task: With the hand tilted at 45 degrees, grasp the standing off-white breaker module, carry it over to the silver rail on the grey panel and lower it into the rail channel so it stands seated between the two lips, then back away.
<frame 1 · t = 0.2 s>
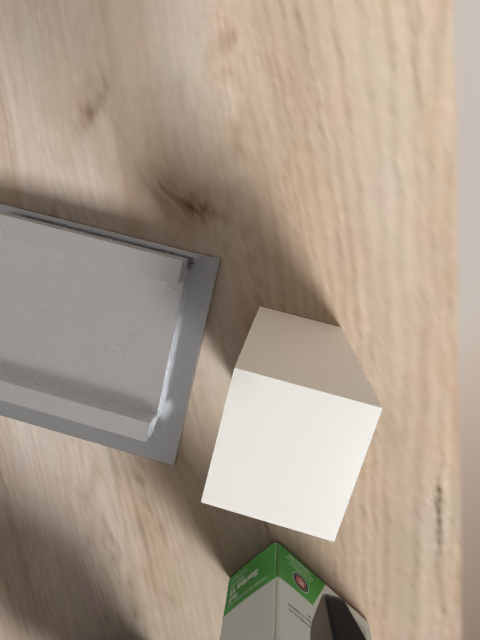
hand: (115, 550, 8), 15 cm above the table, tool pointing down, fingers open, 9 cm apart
ink box: (298, 597, 26), on the table
rail panel: (86, 321, 23), on the table
module: (288, 358, 22), on the table
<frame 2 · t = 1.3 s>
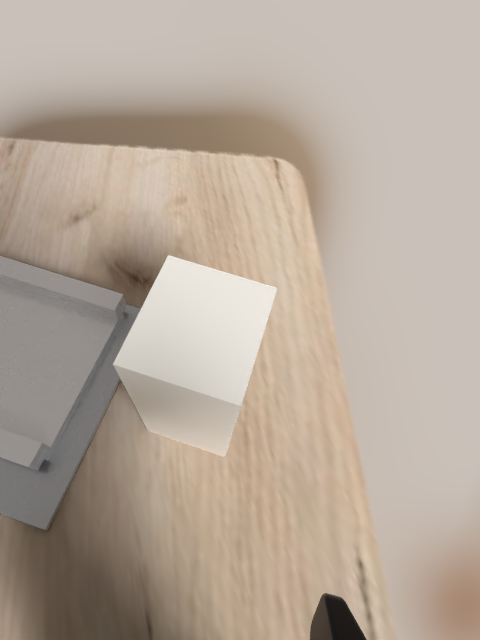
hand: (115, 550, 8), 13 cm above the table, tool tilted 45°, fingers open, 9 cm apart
rail panel: (6, 355, 23), on the table
module: (201, 402, 23), on the table
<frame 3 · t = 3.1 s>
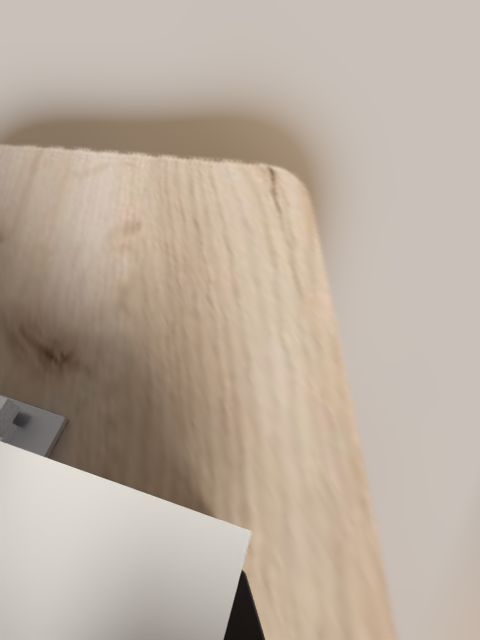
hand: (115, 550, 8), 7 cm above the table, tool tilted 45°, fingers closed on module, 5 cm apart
module: (135, 589, 13), on the table, touching gripper
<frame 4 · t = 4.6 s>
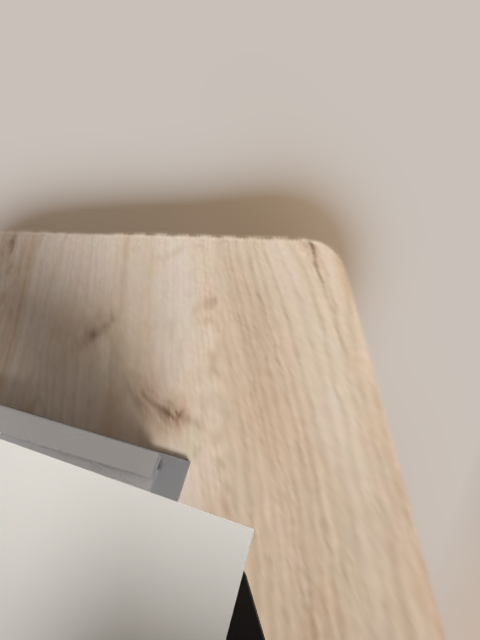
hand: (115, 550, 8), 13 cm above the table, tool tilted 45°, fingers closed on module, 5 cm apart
rail panel: (22, 533, 20), on the table
module: (137, 589, 13), point 7 cm above the table, touching gripper
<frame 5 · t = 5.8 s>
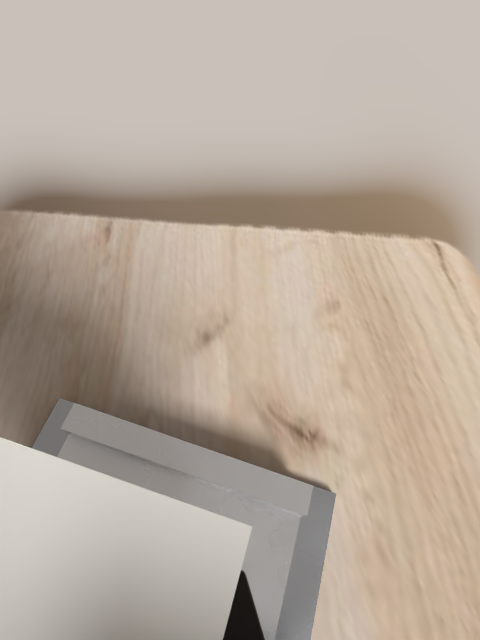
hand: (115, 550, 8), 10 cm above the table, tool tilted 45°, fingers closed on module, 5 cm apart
rail panel: (147, 574, 16), on the table
module: (136, 588, 13), point 3 cm above the table, touching gripper
when the fingers open (8 cm above the table, at t = 6.5 s): module stays where it is, resting on rail panel.
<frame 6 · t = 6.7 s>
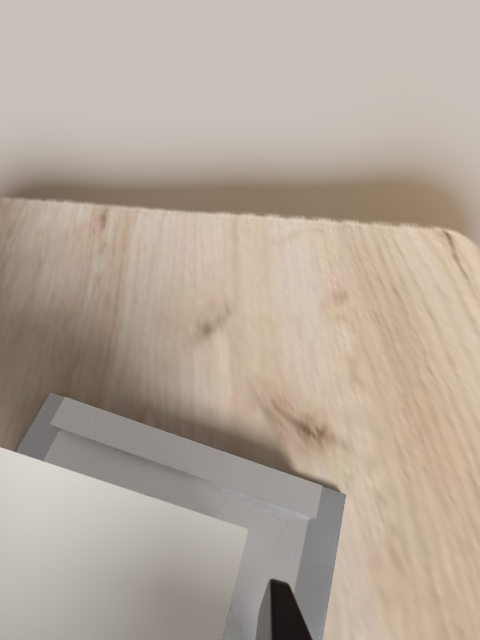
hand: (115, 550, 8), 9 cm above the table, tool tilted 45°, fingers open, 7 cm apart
rail panel: (143, 582, 15), on the table
module: (140, 586, 14), point 1 cm above the table, touching rail panel
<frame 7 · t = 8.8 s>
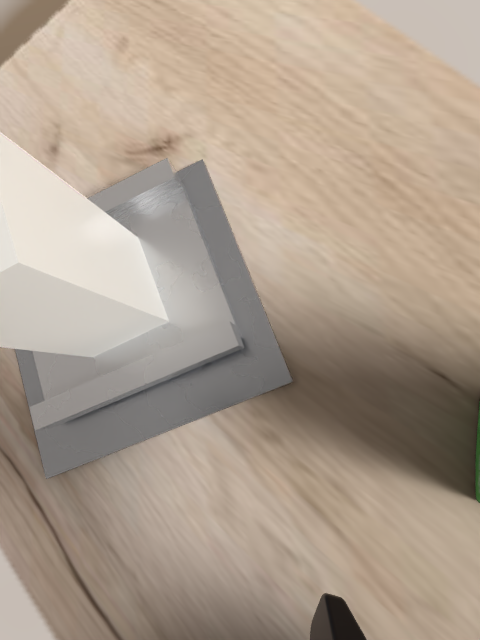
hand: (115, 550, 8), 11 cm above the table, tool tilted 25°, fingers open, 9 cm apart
rail panel: (124, 300, 22), on the table
module: (115, 296, 21), point 1 cm above the table, touching rail panel
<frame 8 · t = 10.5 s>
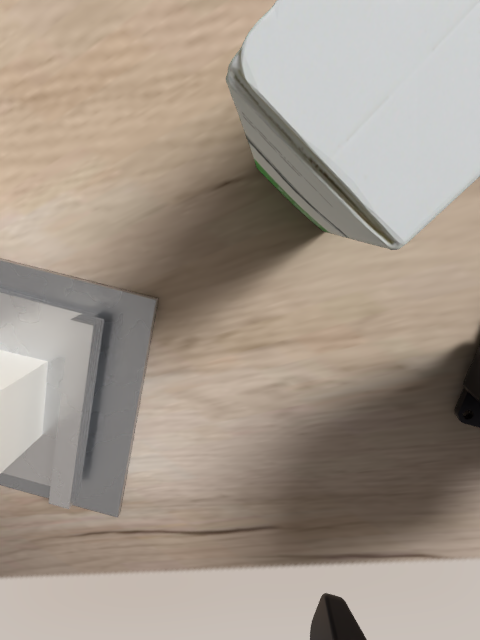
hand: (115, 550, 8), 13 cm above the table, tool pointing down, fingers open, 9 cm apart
ink box: (357, 127, 18), on the table
rail panel: (13, 381, 23), on the table
module: (2, 388, 22), point 1 cm above the table, touching rail panel
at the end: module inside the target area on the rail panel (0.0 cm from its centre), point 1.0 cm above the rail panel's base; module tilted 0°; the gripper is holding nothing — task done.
